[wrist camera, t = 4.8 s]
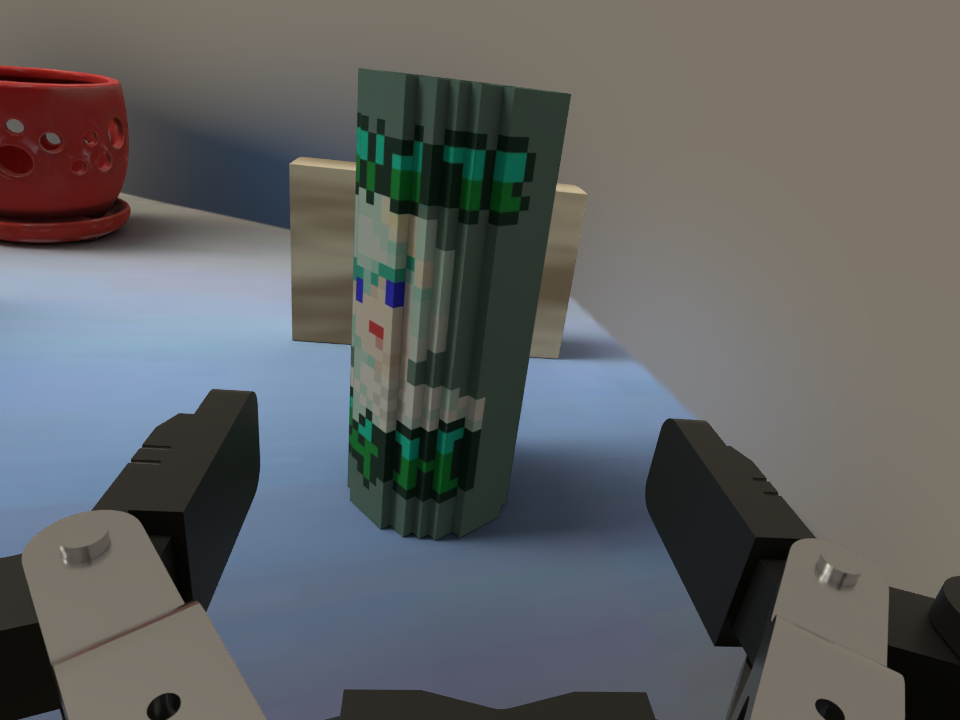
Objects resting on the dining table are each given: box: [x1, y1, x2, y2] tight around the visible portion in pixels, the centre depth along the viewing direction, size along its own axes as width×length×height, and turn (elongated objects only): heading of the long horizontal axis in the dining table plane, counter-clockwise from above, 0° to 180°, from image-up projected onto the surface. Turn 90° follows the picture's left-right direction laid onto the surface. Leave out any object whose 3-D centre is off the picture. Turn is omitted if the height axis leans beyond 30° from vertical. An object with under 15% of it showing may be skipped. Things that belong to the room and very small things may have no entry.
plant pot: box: [0, 66, 131, 243], centre depth 48 cm, size 13×13×12 cm
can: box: [348, 68, 571, 540], centre depth 22 cm, size 6×6×15 cm
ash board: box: [289, 157, 588, 359], centre depth 36 cm, size 3×16×10 cm, turn 94°
